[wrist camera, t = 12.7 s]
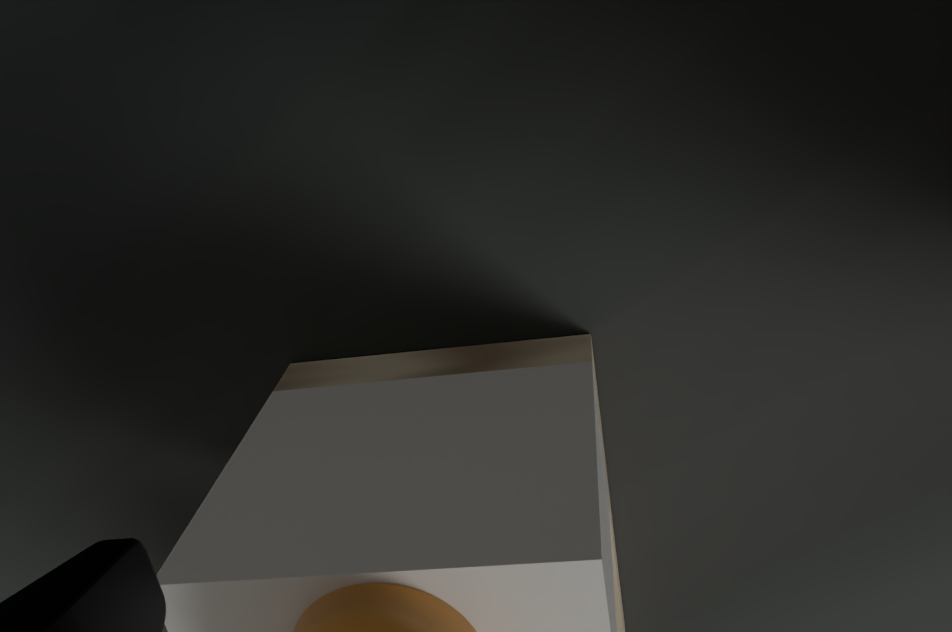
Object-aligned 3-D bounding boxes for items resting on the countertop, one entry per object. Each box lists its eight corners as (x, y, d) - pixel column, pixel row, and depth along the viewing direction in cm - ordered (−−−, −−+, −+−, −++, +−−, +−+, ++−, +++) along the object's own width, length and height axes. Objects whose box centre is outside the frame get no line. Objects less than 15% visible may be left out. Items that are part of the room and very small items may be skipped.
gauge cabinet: (592, 361, 20) (601, 559, 14) (610, 518, 22) (626, 756, 16) (273, 391, 22) (149, 585, 15) (314, 538, 24) (220, 765, 17)
